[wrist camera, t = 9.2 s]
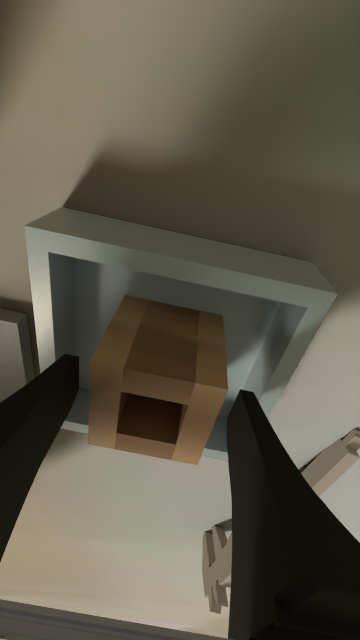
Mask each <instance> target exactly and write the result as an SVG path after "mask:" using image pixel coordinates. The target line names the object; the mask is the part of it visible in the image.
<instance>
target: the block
mask: <svg viewBox="0 0 360 640" xmlns="http://www.w3.org/2000/svg"><path fill="white" fill-rule="evenodd" d="M227 392H228V379H227V365H226V352H225V338H224V324H223V315H218V314H214V313H209V312H204V311H199V310H195V309H190V308H185V307H180V306H176V305H171V304H166V303H161V302H157V301H152V300H147V299H142V298H138V297H133V296H128V295H124V297H123V299H122V301H121V303H120V305H119V307H118V309H117V311H116V313H115V314H114V316H113V318H112V320H111V322H110V324H109V326H108V328H107V330H106V332H105V334H104V336H103V337H102V339H101V341H100V343H99V345H98V347H97V349H96V351H95V353H94V355H93V357H92V358H91V360H90V374H89V420H88V444H91V445H96V446H101V447H106V448H112V449H117V450H122V451H127V452H132V453H138V454H143V455H148V456H153V457H158V458H164V459H169V460H174V461H179V462H184V463H190V464H195V465H197V464H198V462H199V460H200V457H201V455H202V452H203V450H204V447H205V445H206V443H207V440H208V438H209V435H210V433H211V430H212V428H213V426H214V423H215V421H216V418H217V416H218V413H219V411H220V409H221V406H222V404H223V401H224V399H225V397H226V394H227Z"/></svg>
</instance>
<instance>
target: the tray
mask: <svg viewBox="0 0 360 640" xmlns="http://www.w3.org/2000/svg"><path fill="white" fill-rule="evenodd" d="M24 228H25V237H26V246H27V255H28V264H29V274H30V283H31V292H32V301H33V310H34V320H35V329H36V338H37V347H38V356H39V366H40V373H42V372H43V371H44V370H45V369H47V368H48V367H49V366H50V365H51V364H53V363H54V362H55V361H56V360H57V359H59V358H60V357H61V356H62V355H64V354H69V355H74V356H79V391H78V393H77V396H76V398H75V401H74V403H73V405H72V408H71V410H70V412H69V414H68V416H67V418H66V419H65V421H64V423H63V425H62V427H61V428H60V429H65V430H70V431H75V432H80V433H86V434H88V420H89V374H90V360H91V358H92V357H93V355H94V353H95V351H96V349H97V347H98V345H99V343H100V341H101V339H102V337H103V336H104V334H105V332H106V330H107V328H108V326H109V324H110V322H111V320H112V318H113V316H114V314H115V313H116V311H117V309H118V307H119V305H120V303H121V301H122V299H123V297H124V295H128V296H133V297H138V298H142V299H147V300H152V301H157V302H161V303H166V304H171V305H176V306H180V307H185V308H190V309H195V310H199V311H204V312H209V313H214V314H218V315H223V324H224V338H225V352H226V365H227V379H228V392H227V394H226V397H225V399H224V401H223V404H222V406H221V409H220V411H219V413H218V416H217V418H216V421H215V423H214V426H213V428H212V430H211V433H210V435H209V438H208V440H207V443H206V445H205V447H204V450H203V452H202V455H201V456H204V457H209V458H214V459H220V460H225V461H228V452H227V417H228V415H229V413H230V411H231V408H232V406H233V404H234V402H235V399H236V397H237V395H238V393H239V390H240V389H242V390H247V391H252V392H254V394H255V395H256V397H257V399H258V401H259V403H260V405H261V407H262V409H263V411H264V413H265V415H266V417H267V418H268V416H269V414H270V413H271V411H272V409H273V407H274V406H275V404H276V402H277V400H278V399H279V397H280V395H281V393H282V392H283V390H284V388H285V386H286V385H287V383H288V381H289V379H290V377H291V376H292V374H293V372H294V370H295V369H296V367H297V365H298V363H299V362H300V360H301V358H302V356H303V355H304V353H305V351H306V349H307V348H308V346H309V344H310V342H311V341H312V339H313V337H314V335H315V334H316V332H317V330H318V328H319V327H320V325H321V323H322V321H323V319H324V318H325V316H326V314H327V312H328V311H329V309H330V307H331V305H332V304H333V302H334V300H335V298H336V297H337V295H338V293H337V292H336V291H335V289H334V288H333V287H332V286H331V284H330V283H329V282H328V281H327V279H326V278H325V277H324V276H323V274H322V273H321V272H320V271H319V269H318V268H317V267H316V266H315V264H314V263H313V262H309V261H305V260H300V259H296V258H291V257H287V256H282V255H278V254H273V253H268V252H264V251H259V250H255V249H250V248H246V247H241V246H237V245H232V244H228V243H223V242H219V241H214V240H209V239H205V238H200V237H196V236H191V235H187V234H182V233H178V232H173V231H169V230H164V229H159V228H155V227H150V226H146V225H141V224H137V223H132V222H128V221H123V220H119V219H114V218H109V217H105V216H100V215H96V214H91V213H87V212H82V211H78V210H73V209H69V208H64V207H61V208H59V209H57V210H55V211H53V212H51V213H49V214H47V215H45V216H43V217H41V218H39V219H37V220H35V221H33V222H31V223H29V224H27V225H25V226H24Z"/></svg>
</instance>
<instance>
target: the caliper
mask: <svg viewBox="0 0 360 640" xmlns="http://www.w3.org/2000/svg"><path fill="white" fill-rule="evenodd" d="M359 448H360V431H358V430H356V429H354V430H352V431H351V432H350V433H349V434H348V435H347V436H346V437H345V438H344V439H343V440H341V439H339V440H337V441H336V442H334V443H333V444H331V445H330V446H328V447H327V448H325V449H324V450H323V451H322V452H321V453H320V454H319V455H318V456H317V457H316V458H315V459H314V460H313V461H312V462H311V463H310V465H309V466H308V467H307V468H306V469H305V470H304V471H303V472H302V473H301V474H302V476H303V477H304V478H305V480H306V481H307V482H308V484H309V485H310V486H311V488H312V489H313V490H314V492H315V493H316V494H317V495H318V496H320V495H321V494H322V493H323V492H324V491H325V490H326V489H327V488H328V487H329V486H330V485H332V484H333V483H334V482H335V481H336V480H337V479H338V478H339V477H340V476H341V475H342V474H343V473H344V472H345V471H346V470H347V469H348V468H350V467H351V466H352V465H353V464H354V463H355V462H356V461H357V460H358V459H359V458H360V457H359V455H358V453H357V452H356V451H357V450H358V449H359ZM212 532H213V533H212V534H211V533H208V532H205V533H204V535H203V562H202V572H203V582H204V592H205V597H207V598H209V607H210V611H211V612H215V613H218V614H220V613H221V605H222V606H226V607H228V602H227V595H226V590H225V588H226V587H231V566H232V533H231V534H230V536H229V538H228V540H227V538H226V535H225V532H224V529H223V528H221V527H218V526H215V525H214V526H212Z"/></svg>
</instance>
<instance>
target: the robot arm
mask: <svg viewBox="0 0 360 640" xmlns="http://www.w3.org/2000/svg"><path fill="white" fill-rule="evenodd" d="M78 391H79V356H74V355H69V354H64V355H62V356H61V357H60V358H59V359H57V360H56V361H55V362H54V363H53V364H51V365H50V366H49V367H48V368H47V369H45V370H44V371H43V372H42V373H40V374H39V375H38V376H36V377H35V378H34V379H32V380H31V381H30V382H29V383H27V384H26V385H25V386H23V387H22V388H21V389H19V390H18V391H16V392H15V393H13V394H12V395H10V396H9V397H8V398H6V399H5V400H3V401H2V402H0V561H1V559H2V556H3V554H4V551H5V548H6V546H7V543H8V541H9V538H10V536H11V533H12V531H13V528H14V526H15V523H16V521H17V518H18V516H19V513H20V511H21V509H22V506H23V504H24V502H25V499H26V497H27V494H28V492H29V490H30V488H31V485H32V483H33V481H34V478H35V476H36V474H37V472H38V469H39V467H40V465H41V463H42V461H43V459H44V457H45V455H46V454H47V452H48V450H49V448H50V446H51V445H52V443H53V441H54V439H55V437H56V436H57V434H58V432H59V430H60V428H61V427H62V425H63V423H64V421H65V419H66V418H67V416H68V414H69V412H70V410H71V408H72V405H73V403H74V401H75V398H76V396H77V393H78ZM227 452H228V463H229V473H230V484H231V495H232V566H231V594H230V615H229V632H228V639H226V638H220V637H214V636H209V635H203V634H197V633H191V632H186V631H180V630H174V629H168V628H163V627H157V626H151V625H145V624H139V623H134V622H128V621H122V620H116V619H110V618H105V617H99V616H93V615H87V614H82V613H76V612H70V611H64V610H58V609H53V608H47V607H41V606H35V605H30V604H24V603H18V602H12V601H6V600H1V599H0V638H1V639H7V640H360V543H359V542H358V541H357V540H356V539H355V537H354V536H353V535H352V534H351V533H350V532H349V531H348V530H347V529H346V528H345V527H344V526H343V524H342V523H341V522H340V521H339V520H338V519H337V518H336V517H335V516H334V514H333V513H332V512H331V511H330V510H329V508H328V507H327V506H326V505H325V504H324V502H323V501H322V500H321V499H320V498H319V496H318V495H317V494H316V493H315V492H314V490H313V489H312V488H311V486H310V485H309V484H308V482H307V481H306V480H305V478H304V477H303V476H302V474H301V473H300V471H299V470H298V469H297V467H296V466H295V464H294V463H293V461H292V460H291V458H290V456H289V455H288V453H287V452H286V450H285V449H284V447H283V445H282V444H281V442H280V440H279V439H278V437H277V435H276V433H275V432H274V430H273V428H272V426H271V424H270V423H269V421H268V419H267V417H266V415H265V413H264V411H263V409H262V407H261V405H260V403H259V401H258V399H257V397H256V395H255V394H254V392H252V391H247V390H242V389H240V390H239V393H238V395H237V397H236V399H235V402H234V404H233V406H232V408H231V411H230V413H229V415H228V417H227Z"/></svg>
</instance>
